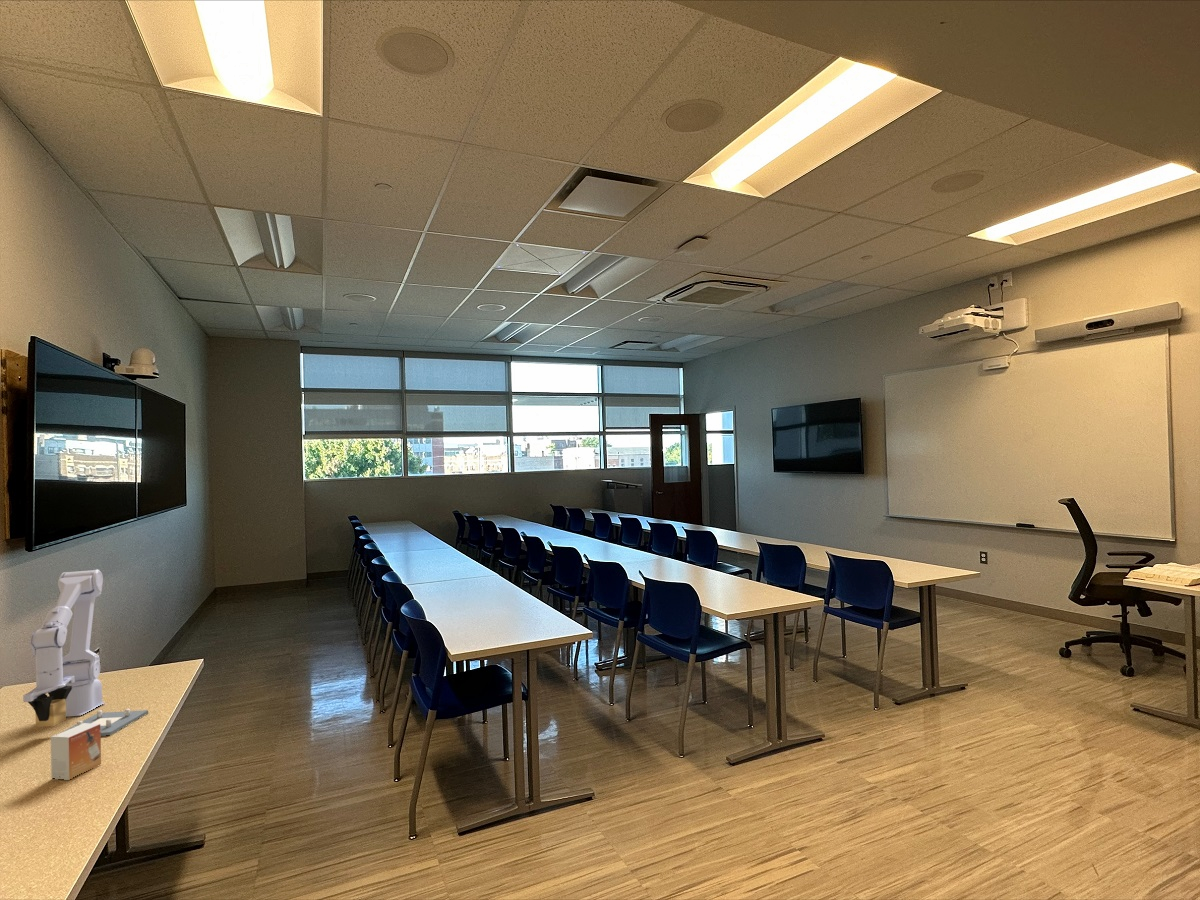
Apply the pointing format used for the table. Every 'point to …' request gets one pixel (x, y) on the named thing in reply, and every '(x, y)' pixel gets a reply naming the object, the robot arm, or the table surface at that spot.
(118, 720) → the pin board
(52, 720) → the ochre block
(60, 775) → the small box
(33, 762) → the table surface
